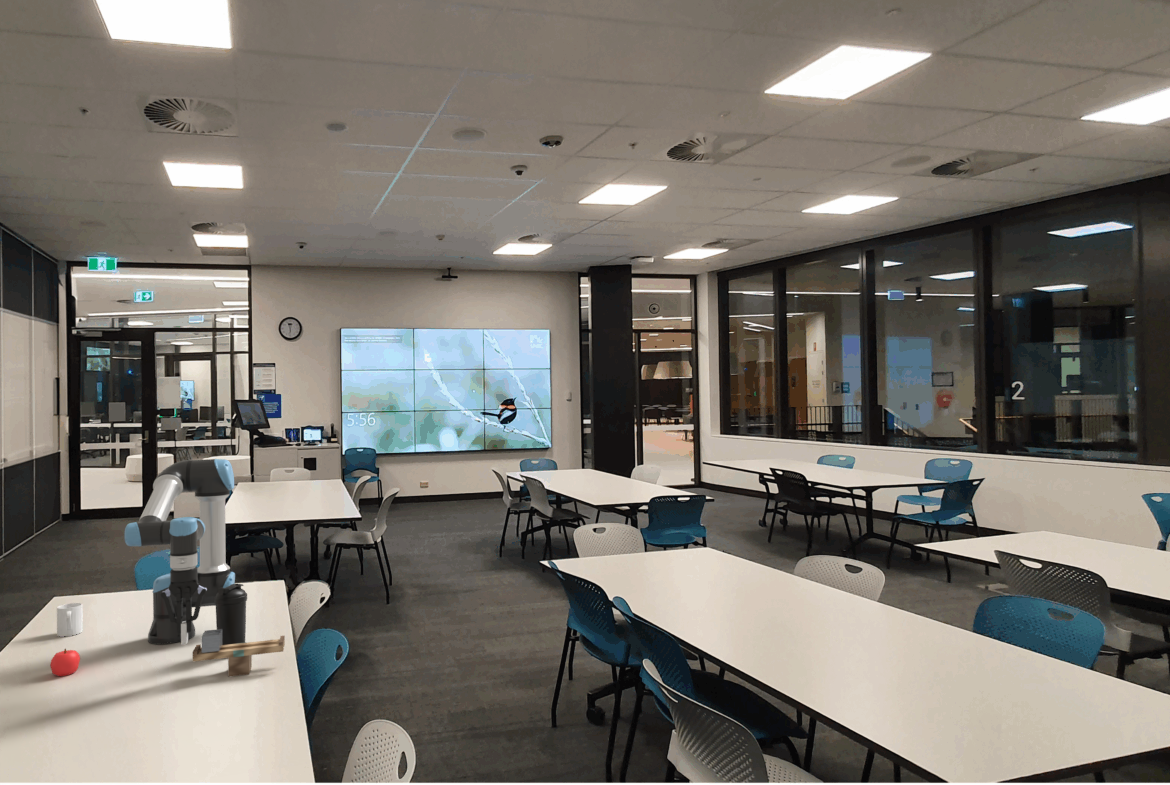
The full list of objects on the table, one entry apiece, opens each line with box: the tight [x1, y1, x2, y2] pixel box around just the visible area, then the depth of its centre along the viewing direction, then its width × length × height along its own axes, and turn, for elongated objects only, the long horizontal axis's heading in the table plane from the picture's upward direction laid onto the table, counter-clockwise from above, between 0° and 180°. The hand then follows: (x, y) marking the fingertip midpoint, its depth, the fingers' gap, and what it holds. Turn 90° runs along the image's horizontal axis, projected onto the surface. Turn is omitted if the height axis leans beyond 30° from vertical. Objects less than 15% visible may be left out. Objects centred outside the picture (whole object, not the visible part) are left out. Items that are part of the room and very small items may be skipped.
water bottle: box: [214, 583, 248, 645], centre depth 254 cm, size 10×10×23 cm
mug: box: [56, 602, 84, 638], centre depth 276 cm, size 12×8×10 cm, turn 32°
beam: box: [192, 635, 286, 678], centre depth 237 cm, size 26×7×9 cm, turn 109°
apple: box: [50, 648, 81, 677], centre depth 237 cm, size 8×8×8 cm
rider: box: [201, 628, 222, 653], centre depth 234 cm, size 5×6×7 cm
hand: (184, 643), depth 232 cm, fingers closed
